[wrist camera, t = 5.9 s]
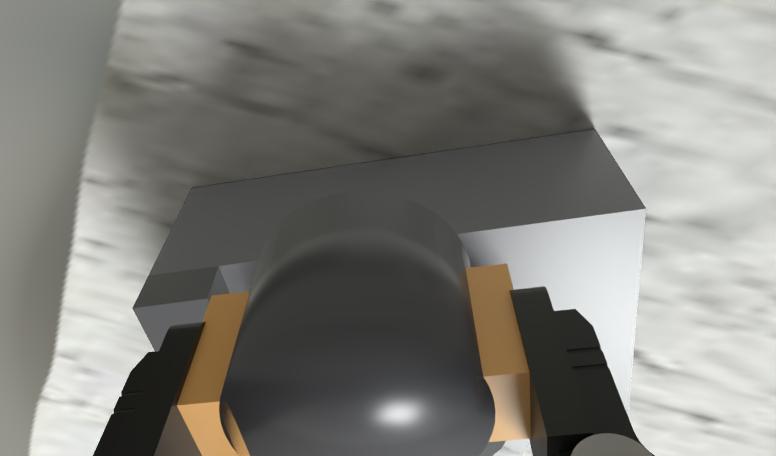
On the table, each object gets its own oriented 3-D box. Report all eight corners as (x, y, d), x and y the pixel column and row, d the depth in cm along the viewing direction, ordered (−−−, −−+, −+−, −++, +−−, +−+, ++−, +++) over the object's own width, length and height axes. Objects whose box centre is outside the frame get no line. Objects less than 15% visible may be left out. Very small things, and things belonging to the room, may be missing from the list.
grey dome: (497, 174, 13) (533, 300, 10) (505, 344, 16) (535, 488, 12) (200, 209, 14) (139, 342, 10) (259, 368, 16) (226, 513, 13)
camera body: (595, 129, 30) (687, 274, 21) (589, 314, 36) (657, 484, 27) (191, 187, 31) (114, 345, 22) (257, 354, 38) (218, 527, 29)
